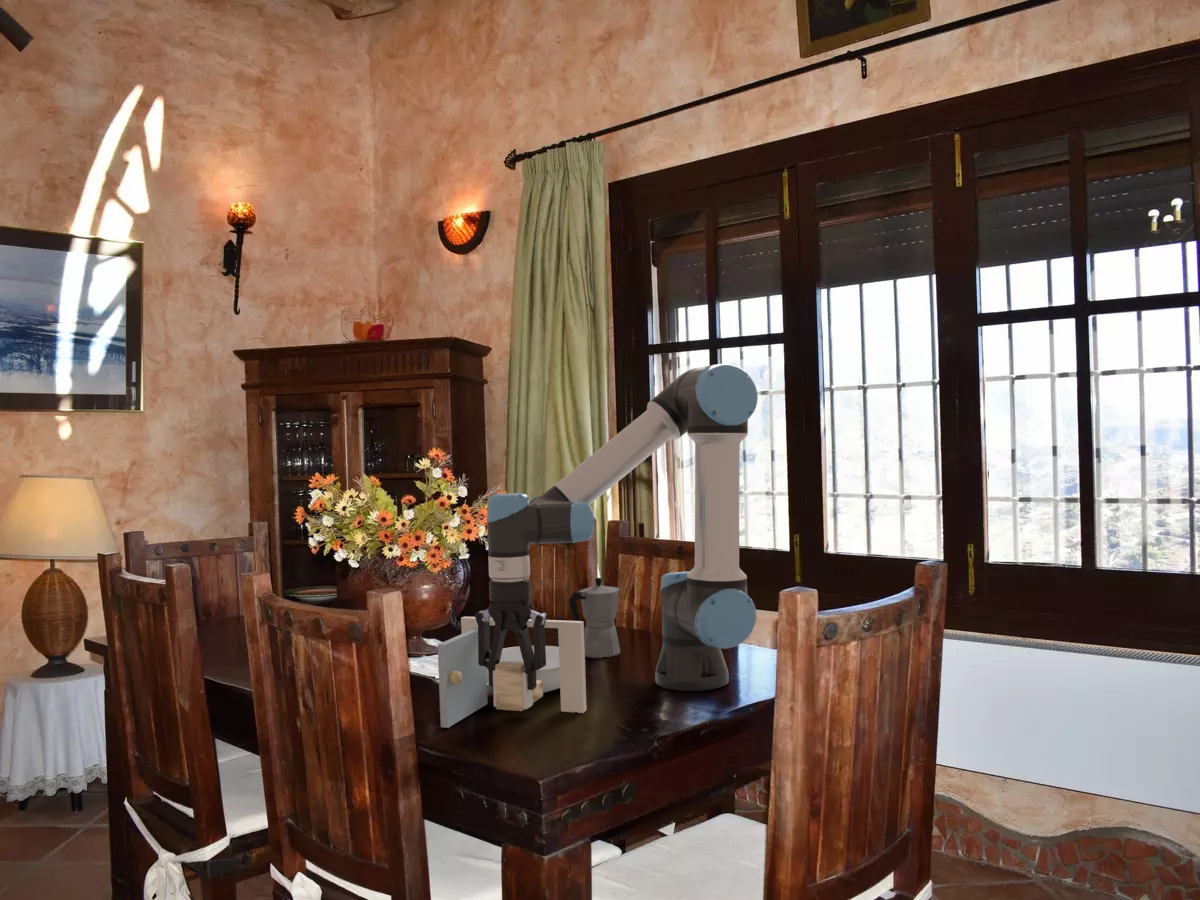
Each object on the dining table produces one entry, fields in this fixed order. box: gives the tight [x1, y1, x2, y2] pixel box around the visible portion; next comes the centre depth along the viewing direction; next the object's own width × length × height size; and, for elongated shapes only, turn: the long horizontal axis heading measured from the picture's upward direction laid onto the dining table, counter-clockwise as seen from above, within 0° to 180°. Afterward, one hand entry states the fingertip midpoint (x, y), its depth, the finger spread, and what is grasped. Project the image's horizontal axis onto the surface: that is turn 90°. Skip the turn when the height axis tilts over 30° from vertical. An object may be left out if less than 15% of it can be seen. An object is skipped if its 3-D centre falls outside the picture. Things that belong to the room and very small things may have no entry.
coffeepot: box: [568, 577, 622, 659], centre depth 230 cm, size 15×9×18 cm, turn 129°
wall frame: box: [460, 616, 587, 714], centre depth 188 cm, size 25×2×17 cm, turn 70°
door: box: [437, 627, 488, 729], centre depth 183 cm, size 16×3×15 cm, turn 160°
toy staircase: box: [495, 661, 544, 712], centre depth 181 cm, size 10×5×8 cm, turn 161°
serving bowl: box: [486, 645, 560, 694], centre depth 201 cm, size 21×21×7 cm
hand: (513, 705), depth 178 cm, fingers closed on toy staircase, 5 cm apart
